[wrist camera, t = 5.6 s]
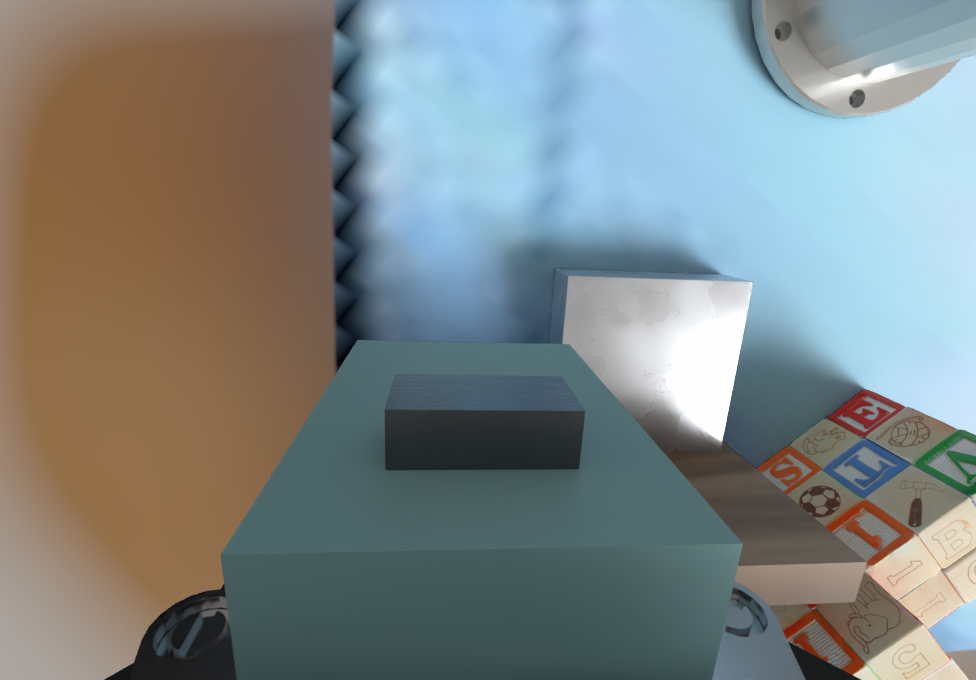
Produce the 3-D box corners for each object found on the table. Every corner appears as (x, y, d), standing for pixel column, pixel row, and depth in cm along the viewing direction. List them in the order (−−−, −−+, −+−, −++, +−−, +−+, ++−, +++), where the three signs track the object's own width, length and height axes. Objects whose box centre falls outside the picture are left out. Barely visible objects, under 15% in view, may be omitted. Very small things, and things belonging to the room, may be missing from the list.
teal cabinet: (356, 306, 11) (210, 476, 4) (572, 311, 11) (759, 473, 5) (367, 672, 14) (293, 1120, 7) (538, 664, 14) (620, 1076, 8)
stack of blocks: (862, 383, 31) (1118, 492, 19) (903, 445, 33) (1161, 580, 21) (608, 577, 34) (697, 779, 22) (657, 626, 35) (765, 838, 23)
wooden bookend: (537, 267, 27) (608, 314, 15) (737, 274, 28) (941, 322, 17) (524, 457, 30) (574, 613, 19) (703, 456, 31) (854, 602, 20)
